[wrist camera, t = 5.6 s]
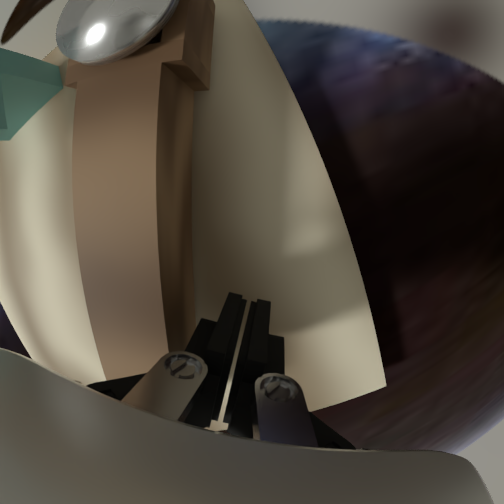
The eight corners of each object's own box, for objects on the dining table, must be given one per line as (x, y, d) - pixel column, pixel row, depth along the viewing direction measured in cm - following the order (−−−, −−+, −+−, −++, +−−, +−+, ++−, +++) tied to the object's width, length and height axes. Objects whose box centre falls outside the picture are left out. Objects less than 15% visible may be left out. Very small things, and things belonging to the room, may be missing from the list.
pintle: (194, 5, 9) (155, -60, 4) (226, 69, 10) (193, 8, 5) (117, 46, 10) (51, 6, 5) (140, 112, 11) (66, 87, 6)
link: (125, 22, 9) (86, -10, 6) (215, 5, 9) (196, -40, 5) (138, 381, 14) (112, 424, 10) (213, 393, 14) (199, 444, 10)
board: (219, -29, 9) (214, -44, 8) (379, 369, 15) (386, 385, 13) (-29, 162, 13) (-42, 164, 12) (99, 424, 19) (91, 435, 17)
